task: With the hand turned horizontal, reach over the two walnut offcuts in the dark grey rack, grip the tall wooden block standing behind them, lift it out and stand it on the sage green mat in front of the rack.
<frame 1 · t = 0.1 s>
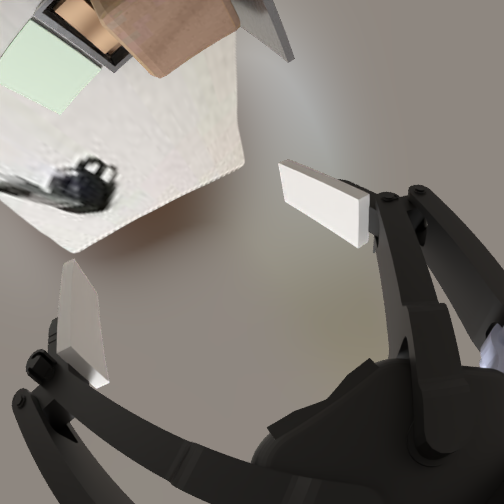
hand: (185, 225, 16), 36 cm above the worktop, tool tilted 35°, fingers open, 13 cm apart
mat: (44, 69, 26), on the worktop
upper offcut: (88, 20, 22), point 2 cm above the worktop, touching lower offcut
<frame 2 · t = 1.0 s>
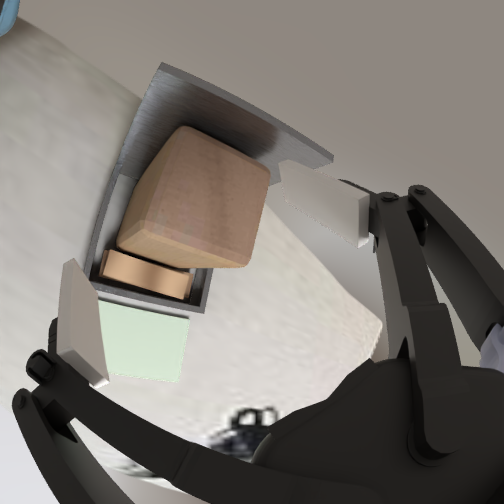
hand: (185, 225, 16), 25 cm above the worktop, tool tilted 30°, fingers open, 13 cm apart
mat: (131, 342, 36), on the worktop
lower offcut: (143, 274, 39), on the worktop, touching upper offcut
upper offcut: (143, 275, 36), point 2 cm above the worktop, touching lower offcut
wooden block: (155, 226, 40), on the worktop
rack: (152, 239, 39), on the worktop
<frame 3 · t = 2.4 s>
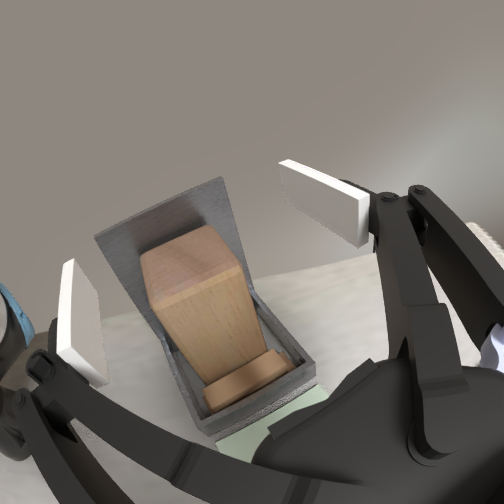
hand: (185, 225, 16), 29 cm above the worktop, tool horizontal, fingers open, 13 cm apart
mat: (288, 444, 29), on the worktop
upper offcut: (247, 385, 35), point 2 cm above the worktop, touching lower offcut
wooden block: (230, 356, 42), on the worktop
rack: (235, 364, 41), on the worktop
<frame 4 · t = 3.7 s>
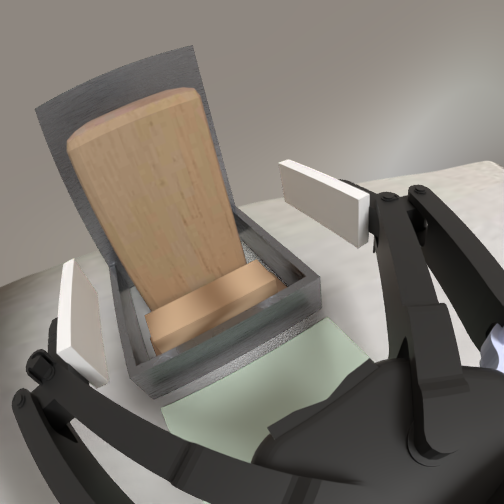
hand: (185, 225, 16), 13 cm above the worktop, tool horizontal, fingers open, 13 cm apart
mat: (280, 415, 18), on the worktop
upper offcut: (215, 316, 25), point 2 cm above the worktop, touching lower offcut
wooden block: (198, 288, 31), on the worktop
rack: (204, 297, 30), on the worktop
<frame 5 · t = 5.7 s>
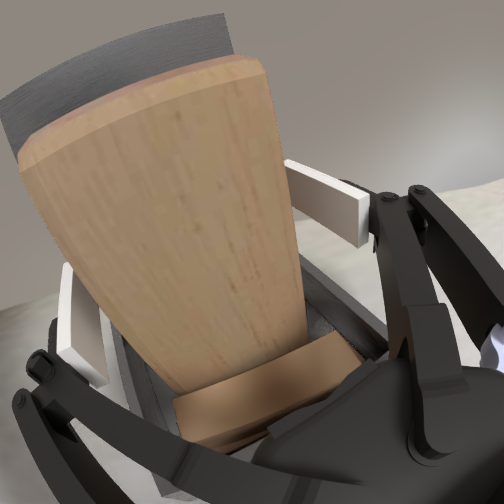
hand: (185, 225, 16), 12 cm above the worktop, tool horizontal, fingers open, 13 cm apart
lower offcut: (279, 413, 18), on the worktop, touching upper offcut
upper offcut: (271, 403, 16), point 2 cm above the worktop, touching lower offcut
wooden block: (232, 346, 23), on the worktop
rack: (242, 361, 22), on the worktop
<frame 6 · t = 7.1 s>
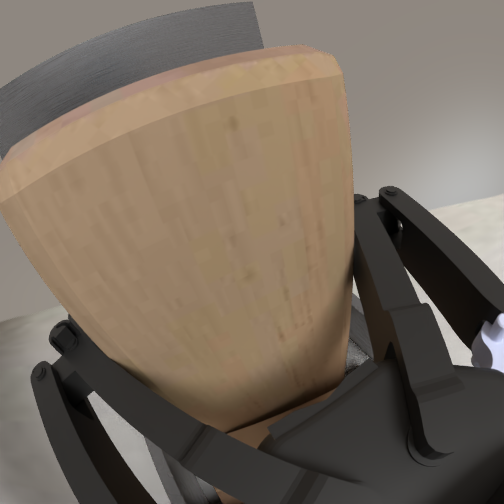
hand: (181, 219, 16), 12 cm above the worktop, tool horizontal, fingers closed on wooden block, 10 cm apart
upper offcut: (307, 440, 14), point 2 cm above the worktop, touching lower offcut
wooden block: (256, 375, 21), on the worktop, touching gripper
rack: (268, 393, 19), on the worktop
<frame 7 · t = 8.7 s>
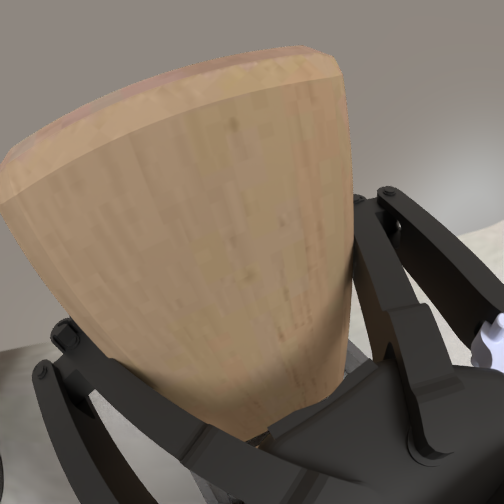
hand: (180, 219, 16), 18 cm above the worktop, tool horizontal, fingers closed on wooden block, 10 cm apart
wooden block: (255, 375, 21), point 6 cm above the worktop, touching gripper
rack: (279, 417, 23), on the worktop
when the fingers open (14 cm above the worktop, at t = 13.0 s): wooden block drops 1 cm, resting on mat.
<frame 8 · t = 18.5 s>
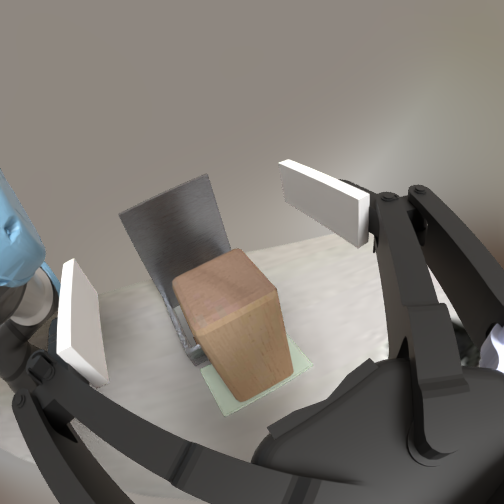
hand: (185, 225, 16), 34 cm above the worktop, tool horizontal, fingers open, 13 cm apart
mat: (254, 370, 44), on the worktop
wooden block: (254, 368, 44), resting on mat
rack: (218, 314, 55), on the worktop
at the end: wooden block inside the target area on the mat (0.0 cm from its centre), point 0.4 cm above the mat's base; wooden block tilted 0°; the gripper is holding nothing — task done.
